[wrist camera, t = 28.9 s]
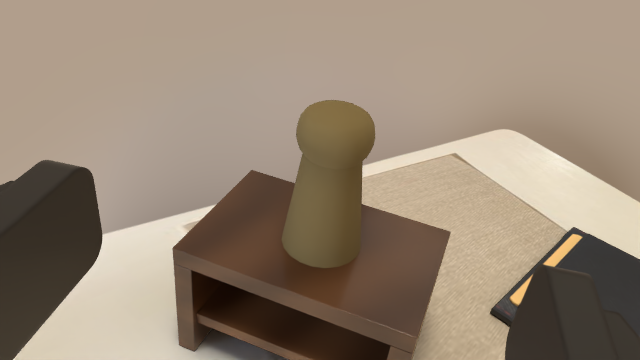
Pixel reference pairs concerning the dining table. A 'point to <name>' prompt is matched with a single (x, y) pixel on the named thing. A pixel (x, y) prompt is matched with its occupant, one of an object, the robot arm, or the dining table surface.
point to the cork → (328, 184)
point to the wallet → (600, 263)
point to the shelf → (303, 281)
